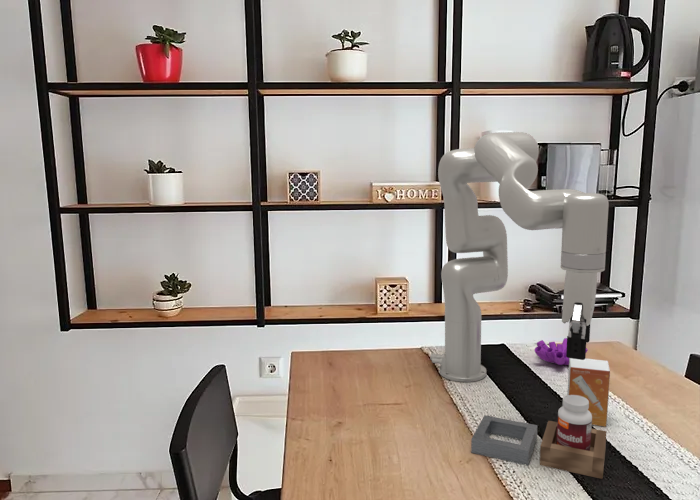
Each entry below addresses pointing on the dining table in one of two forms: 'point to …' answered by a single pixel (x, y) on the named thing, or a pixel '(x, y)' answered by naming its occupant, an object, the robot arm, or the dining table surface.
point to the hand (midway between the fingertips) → (578, 349)
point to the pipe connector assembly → (553, 352)
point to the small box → (591, 386)
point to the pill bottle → (574, 423)
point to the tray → (573, 453)
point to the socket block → (502, 448)
